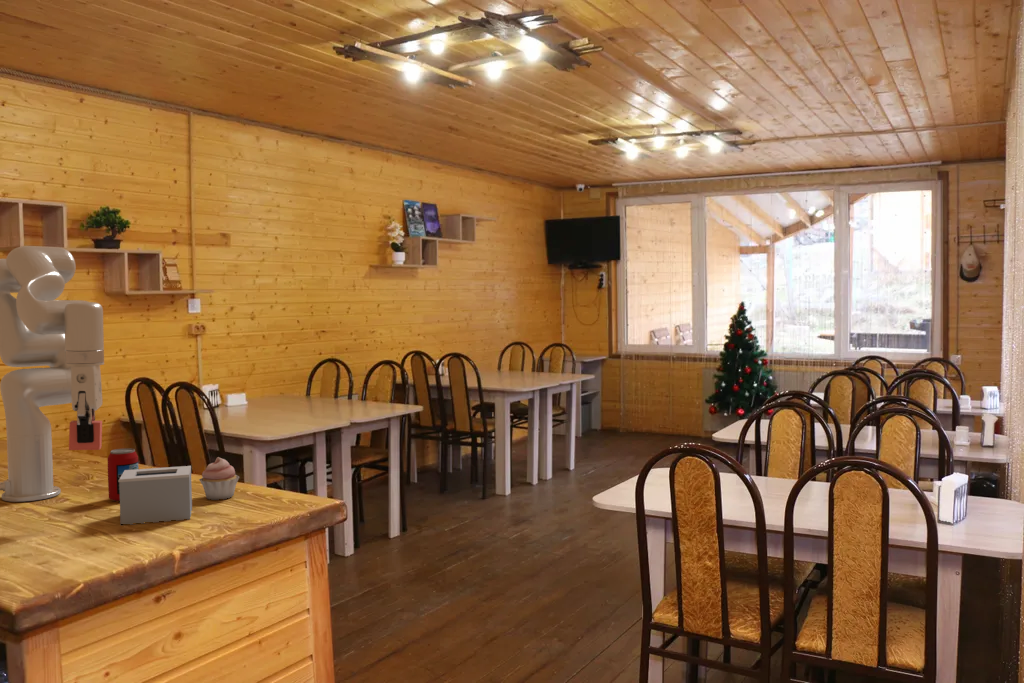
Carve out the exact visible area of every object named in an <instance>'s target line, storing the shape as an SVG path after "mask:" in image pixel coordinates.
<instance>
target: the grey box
mask: <svg viewBox="0 0 1024 683" xmlns="http://www.w3.org/2000/svg"><path fill="white" fill-rule="evenodd" d="M119 490H120V502H119V517H120V518H119V520H120V521H119V522H120V525H121V524H130V525H134V524H133V523H141V524H145V523H144V522H153V523H160V522H159V521H164V522H172V521H171V520H176V521H184V519H187V520H191V518H190V517H192V512H191V511H193V495H192V494H193V491H192V490H193V488H192V465H187V466H186V465H181V466H170V467H166V466H165V467H153V468H138V469H135V470H124V472H123V474H122V476H121V477H120V479H119Z"/></svg>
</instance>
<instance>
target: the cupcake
mask: <svg viewBox="0 0 1024 683" xmlns="http://www.w3.org/2000/svg"><path fill="white" fill-rule="evenodd" d="M235 470H236V469H235V468H234V466H232V465H230V463H229V462H228V460H226V459H225V458H221V457H219V456H218V457H216V459H215V461H214V462H211V463H209V464H208V465H207V466H206V468H205V469H204V470H203V471H202V474H201V478H199V479H198V481H199V482H200V483H201V485H202V488H203V490H204V493H205V494H204V495H205V497H206V499H208V500H210V499H211V501H220V500H219V499H223V500H227V498H228V499H230V497H231V498H233V497H232V496H234V495H235V490H236V487H237V483H238V481H239V479H240V476H239V475H237V474H236V471H235Z"/></svg>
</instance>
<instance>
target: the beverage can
mask: <svg viewBox="0 0 1024 683" xmlns="http://www.w3.org/2000/svg"><path fill="white" fill-rule="evenodd" d="M135 469H139V456H138V454H137V451H136V450H135V448H131V447H130V448H128V447H127V448H126V447H125V448H116V449H112V450H111V451H110V453H109V455H108V457H107V486H108V487H107V488H108V489H107V490H108V499H110V500H112V501H113V502H116V501H120V490H119V479H120V477H121V476H122V474H123V472H124V470H135Z"/></svg>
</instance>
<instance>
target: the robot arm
mask: <svg viewBox="0 0 1024 683" xmlns="http://www.w3.org/2000/svg"><path fill="white" fill-rule="evenodd" d="M76 266H77V265H76V260H75V258H74V256H73V255H72V253H71V252H70V251H69V250H68V249H66V248H64V247H59V246H38V245H37V246H35V245H23V246H18V247H15V248H13V249H12V250H11V251H9V253H8V254H7V256H6V258H0V359H1V361H2V362H3V364H4V365H5V366H7V367H11V368H12V367H13V368H21V369H15V370H11V371H9V372H7V373H6V374H4V375H3V376H2V378H1V380H0V396H1V399H2V403H3V408H4V416H5V426H6V453H7V476H8V477H7V479H6V480H3V481H0V491H3V493H1V500H2V501H5V502H12V503H15V502H16V503H18V502H19V503H20V502H33V501H39V500H45V499H50V498H53V497H56V496H58V495H60V494H61V493H62V492H61V490H62V489H61V488H60V487H59V486H54V469H53V468H54V466H53V441H52V440H53V439H52V438H53V437H52V434H53V433H52V425H51V424H52V423H51V422H50V420H49V418H48V417H47V416H46V414H44V412H42V410H41V409H40V408H42V407H45V406H47V407H48V406H57V405H66V404H71V409H72V410H73V411H74V412H76V421H77V442H78V443H91V442H93V441H94V427H93V424H92V421H96V411H97V410H98V409H100V408H101V407H102V406H103V392H102V391H103V387H102V373H101V372H102V370H101V366H102V365H105V347H104V346H105V345H104V309H103V308H104V307H103V306H102V305H101V304H100V303H99V302H93V301H88V300H80V299H79V300H76V299H74V300H73V299H72V300H71V299H69V300H67V299H64V300H63V299H58V300H57V298H59V297H60V296H61V295H62V293H63V292H64V290H65V284H67V283H68V282H70V281H71V280H72V279H73V277H74V275H75V273H76V270H77V269H76V268H77V267H76ZM11 293H16V294H17V295H16V297H15V296H13V295H12V294H11ZM41 366H42V367H41ZM43 366H48V367H43ZM28 367H29V368H28ZM30 367H31V368H30ZM32 367H33V368H32ZM34 367H35V368H34Z"/></svg>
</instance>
